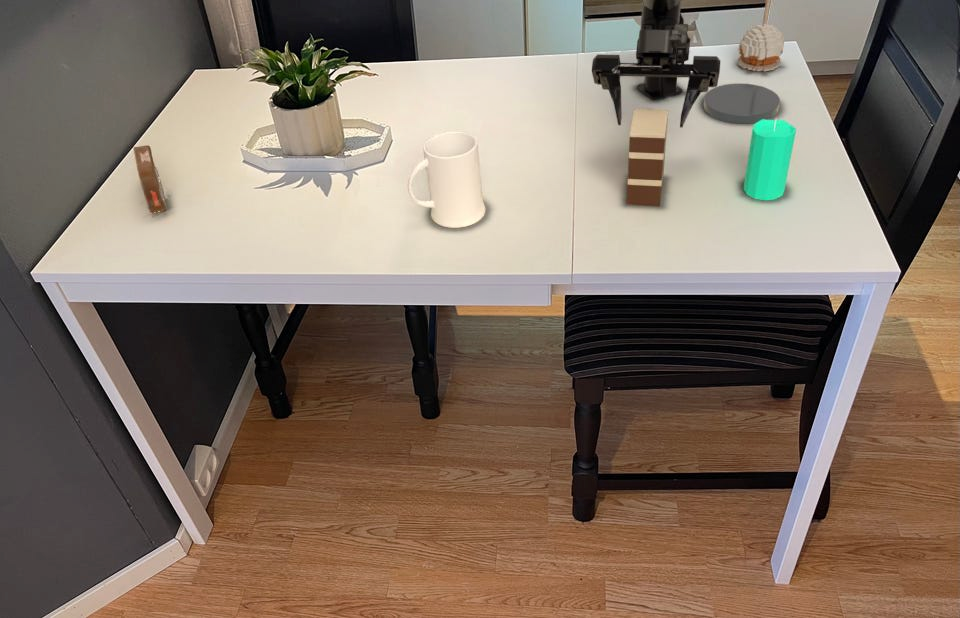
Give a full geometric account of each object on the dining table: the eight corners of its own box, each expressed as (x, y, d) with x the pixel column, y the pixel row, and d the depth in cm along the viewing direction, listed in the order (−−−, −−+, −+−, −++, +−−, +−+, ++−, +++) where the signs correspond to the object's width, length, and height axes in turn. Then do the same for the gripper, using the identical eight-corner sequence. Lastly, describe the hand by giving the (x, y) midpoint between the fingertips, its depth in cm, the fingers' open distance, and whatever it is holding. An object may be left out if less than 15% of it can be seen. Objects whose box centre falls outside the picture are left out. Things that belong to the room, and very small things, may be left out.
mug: (422, 240, 118) (410, 170, 111) (404, 212, 125) (392, 144, 117) (494, 218, 121) (488, 149, 114) (473, 192, 127) (466, 125, 120)
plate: (689, 100, 146) (690, 93, 145) (749, 85, 149) (750, 77, 148) (730, 130, 136) (731, 122, 135) (794, 112, 139) (795, 104, 138)
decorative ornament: (766, 54, 158) (778, -23, 149) (787, 69, 152) (801, -10, 143) (730, 61, 157) (740, -16, 147) (750, 76, 151) (762, -3, 142)
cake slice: (631, 177, 127) (634, 108, 119) (663, 179, 126) (668, 109, 118) (626, 204, 121) (629, 133, 114) (659, 206, 120) (665, 135, 112)
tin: (145, 182, 139) (127, 139, 134) (163, 177, 140) (146, 134, 135) (153, 224, 128) (134, 179, 123) (173, 218, 129) (155, 173, 124)
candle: (786, 201, 118) (800, 128, 111) (744, 199, 120) (755, 127, 112) (782, 180, 123) (796, 109, 115) (742, 178, 124) (753, 108, 116)
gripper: (593, 1, 115) (583, 105, 114) (727, 1, 110) (717, 109, 109) (599, 34, 126) (590, 129, 124) (721, 35, 121) (712, 134, 120)
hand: (650, 125), depth 119 cm, fingers open, 9 cm apart
